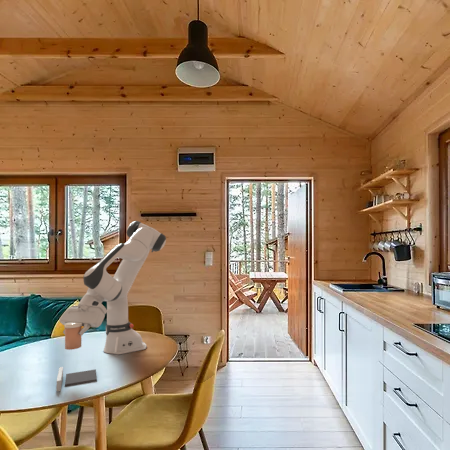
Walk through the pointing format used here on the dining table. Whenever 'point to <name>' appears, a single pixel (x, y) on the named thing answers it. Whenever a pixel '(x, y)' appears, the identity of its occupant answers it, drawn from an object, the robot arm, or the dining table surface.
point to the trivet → (80, 377)
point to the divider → (59, 379)
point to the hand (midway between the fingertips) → (72, 334)
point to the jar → (72, 335)
